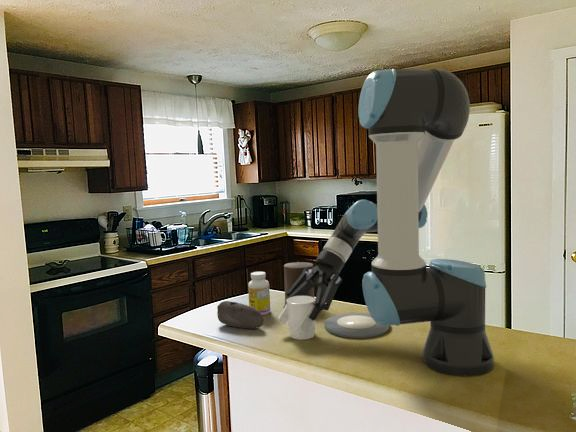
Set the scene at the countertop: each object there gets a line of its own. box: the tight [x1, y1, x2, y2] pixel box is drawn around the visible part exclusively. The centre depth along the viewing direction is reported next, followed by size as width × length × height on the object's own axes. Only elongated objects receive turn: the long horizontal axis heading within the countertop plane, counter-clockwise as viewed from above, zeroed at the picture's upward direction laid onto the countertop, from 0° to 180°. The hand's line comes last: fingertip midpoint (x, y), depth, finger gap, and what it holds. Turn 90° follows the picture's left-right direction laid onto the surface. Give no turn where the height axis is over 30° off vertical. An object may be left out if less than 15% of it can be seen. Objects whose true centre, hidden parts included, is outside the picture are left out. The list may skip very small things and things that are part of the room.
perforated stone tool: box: [216, 300, 264, 330], centre depth 138 cm, size 15×5×7 cm, turn 58°
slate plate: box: [324, 312, 390, 339], centre depth 134 cm, size 18×18×2 cm
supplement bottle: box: [247, 271, 271, 316], centre depth 150 cm, size 7×7×13 cm
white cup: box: [286, 296, 316, 341], centre depth 129 cm, size 8×8×10 cm
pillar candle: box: [283, 260, 315, 305], centre depth 157 cm, size 10×10×15 cm
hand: (291, 325), depth 127 cm, fingers open, 8 cm apart
